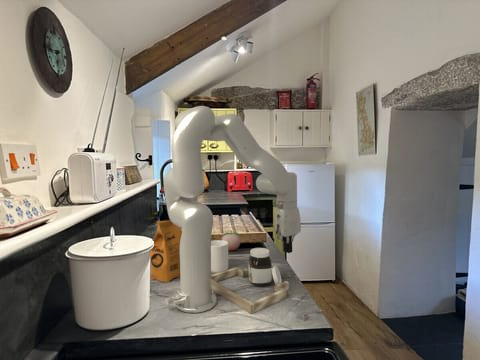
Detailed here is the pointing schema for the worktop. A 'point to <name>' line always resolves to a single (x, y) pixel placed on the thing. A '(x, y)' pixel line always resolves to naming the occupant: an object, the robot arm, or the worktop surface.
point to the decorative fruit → (232, 240)
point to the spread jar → (262, 268)
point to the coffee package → (166, 252)
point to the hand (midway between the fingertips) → (287, 251)
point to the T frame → (255, 306)
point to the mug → (219, 256)
